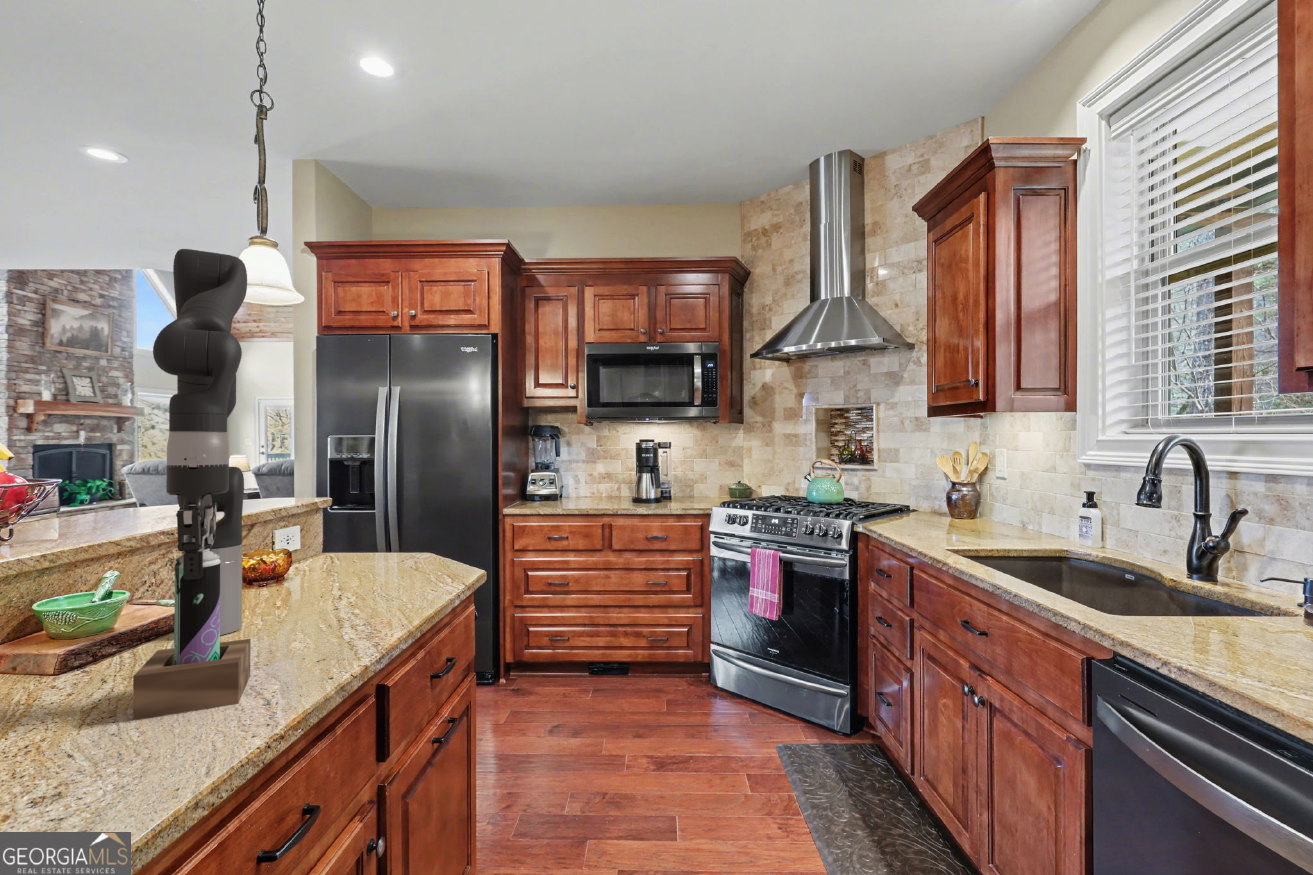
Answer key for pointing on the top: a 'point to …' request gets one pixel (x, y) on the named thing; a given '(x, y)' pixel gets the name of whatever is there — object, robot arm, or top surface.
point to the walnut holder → (191, 682)
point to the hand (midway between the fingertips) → (197, 574)
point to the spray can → (197, 612)
